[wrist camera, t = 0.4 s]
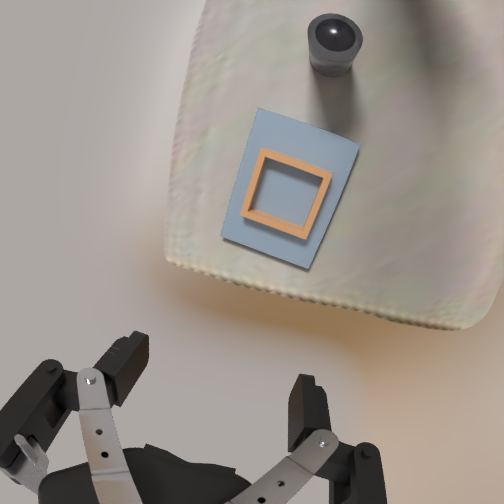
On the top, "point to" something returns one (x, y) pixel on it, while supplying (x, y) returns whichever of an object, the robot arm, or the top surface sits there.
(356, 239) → the top surface
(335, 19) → the grey capped cylinder
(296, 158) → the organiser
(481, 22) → the top surface
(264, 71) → the top surface
